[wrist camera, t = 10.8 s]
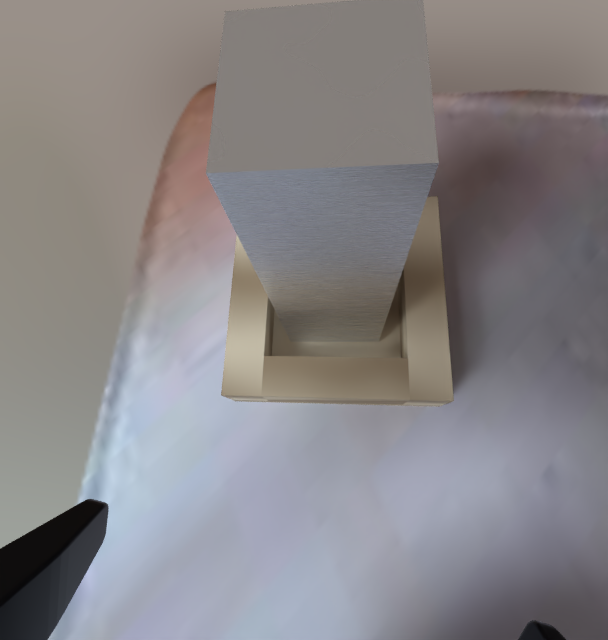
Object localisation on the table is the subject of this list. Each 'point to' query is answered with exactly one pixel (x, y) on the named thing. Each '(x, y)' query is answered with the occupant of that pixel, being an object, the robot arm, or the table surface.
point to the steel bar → (325, 156)
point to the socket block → (346, 357)
